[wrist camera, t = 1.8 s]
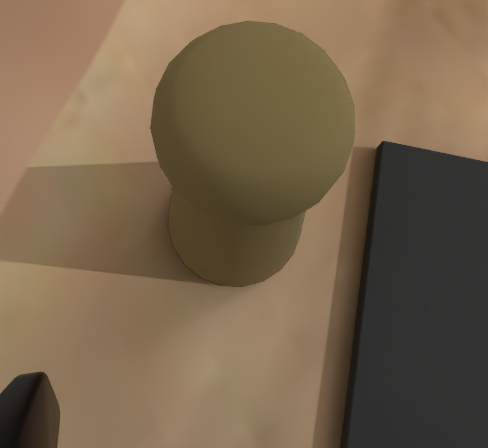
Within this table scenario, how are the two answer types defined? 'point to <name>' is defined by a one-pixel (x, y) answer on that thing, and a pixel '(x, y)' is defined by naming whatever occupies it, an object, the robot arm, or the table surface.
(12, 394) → the robot arm
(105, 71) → the table surface
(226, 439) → the table surface
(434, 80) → the table surface
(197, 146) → the cork
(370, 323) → the rubber mat
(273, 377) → the table surface
